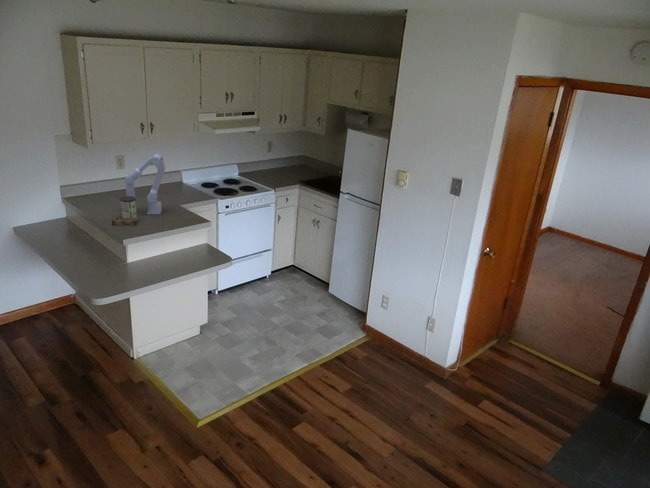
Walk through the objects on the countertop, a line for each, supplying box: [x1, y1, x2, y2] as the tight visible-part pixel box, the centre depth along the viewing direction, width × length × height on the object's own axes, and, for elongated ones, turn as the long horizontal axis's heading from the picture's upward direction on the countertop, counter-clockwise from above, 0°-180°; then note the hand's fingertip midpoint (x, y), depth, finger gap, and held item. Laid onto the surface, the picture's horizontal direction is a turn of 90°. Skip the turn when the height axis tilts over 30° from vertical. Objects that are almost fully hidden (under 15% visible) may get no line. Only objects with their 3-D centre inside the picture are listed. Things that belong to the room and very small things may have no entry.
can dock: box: [111, 215, 140, 226], centre depth 347 cm, size 16×10×3 cm, turn 99°
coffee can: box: [119, 195, 138, 220], centre depth 356 cm, size 10×10×14 cm
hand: (132, 209), depth 367 cm, fingers closed
